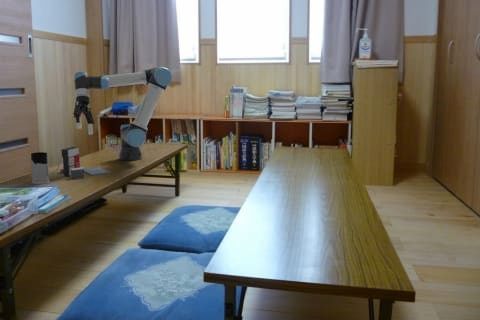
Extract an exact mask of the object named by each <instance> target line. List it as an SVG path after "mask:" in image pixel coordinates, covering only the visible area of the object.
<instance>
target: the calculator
mask: <svg viewBox="0 0 480 320" xmlns="http://www.w3.org/2000/svg"><path fill="white" fill-rule="evenodd" d="M60 150H61V158H62V166H63V167H62V169H64V173H63V177H64V178H65V177H66V178H69V177H70V178H71V169H72V168H80V167H81V164H80V151H79V150H80V149H79V147H78V146H70V147H67V148H62V149H60Z"/></svg>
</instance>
